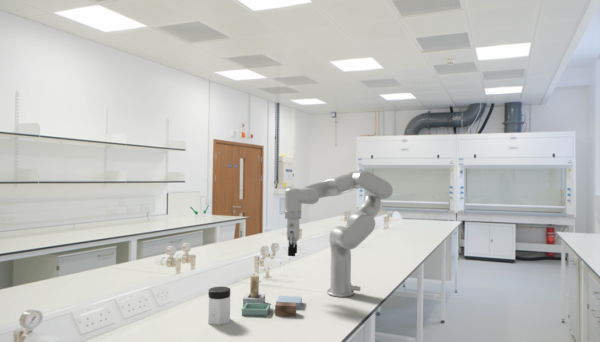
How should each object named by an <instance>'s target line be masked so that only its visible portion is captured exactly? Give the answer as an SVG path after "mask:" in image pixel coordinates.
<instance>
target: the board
mask: <svg viewBox="0 0 600 342" xmlns="http://www.w3.org/2000/svg"><path fill="white" fill-rule="evenodd" d="M302 300H303V297H302V296H293V295H289V296H288V295H279V296H278V298H277V300H276V303H277V302H281V303H296V310H300V309H301V306H302V303H303V301H302ZM276 303H275V304H276Z"/></svg>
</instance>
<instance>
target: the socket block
mask: <svg viewBox="0 0 600 342" xmlns="http://www.w3.org/2000/svg"><path fill="white" fill-rule="evenodd" d="M246 303H260V304H266V293H259V295H258V298H250V292H249V293H246V294H245V296H244V297H243V298H242V308H243V307H244V306H245V304H246Z"/></svg>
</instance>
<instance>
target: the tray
mask: <svg viewBox="0 0 600 342" xmlns="http://www.w3.org/2000/svg"><path fill="white" fill-rule="evenodd" d="M270 312H271V303H264V304H260V303H246V304H245V306H244V307H243V306H242V308H241V316H244V315H246V316H251V317H268V315H269V313H270ZM246 316H245V317H246Z"/></svg>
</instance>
